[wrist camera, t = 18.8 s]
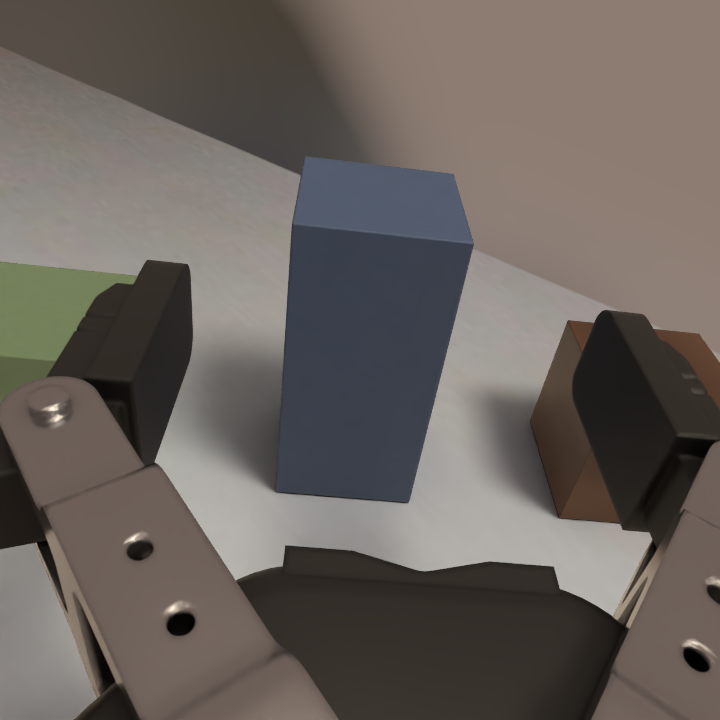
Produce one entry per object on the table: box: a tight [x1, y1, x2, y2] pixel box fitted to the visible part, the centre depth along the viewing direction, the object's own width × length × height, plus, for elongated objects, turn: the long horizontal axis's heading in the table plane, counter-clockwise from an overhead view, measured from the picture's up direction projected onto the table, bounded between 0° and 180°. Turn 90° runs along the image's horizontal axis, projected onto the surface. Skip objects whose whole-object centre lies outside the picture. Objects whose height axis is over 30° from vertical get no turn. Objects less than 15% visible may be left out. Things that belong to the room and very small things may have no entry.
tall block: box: [276, 157, 474, 502], centre depth 21 cm, size 5×5×10 cm
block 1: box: [0, 262, 138, 404], centre depth 22 cm, size 5×5×5 cm
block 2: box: [530, 320, 720, 523], centre depth 23 cm, size 5×5×5 cm
